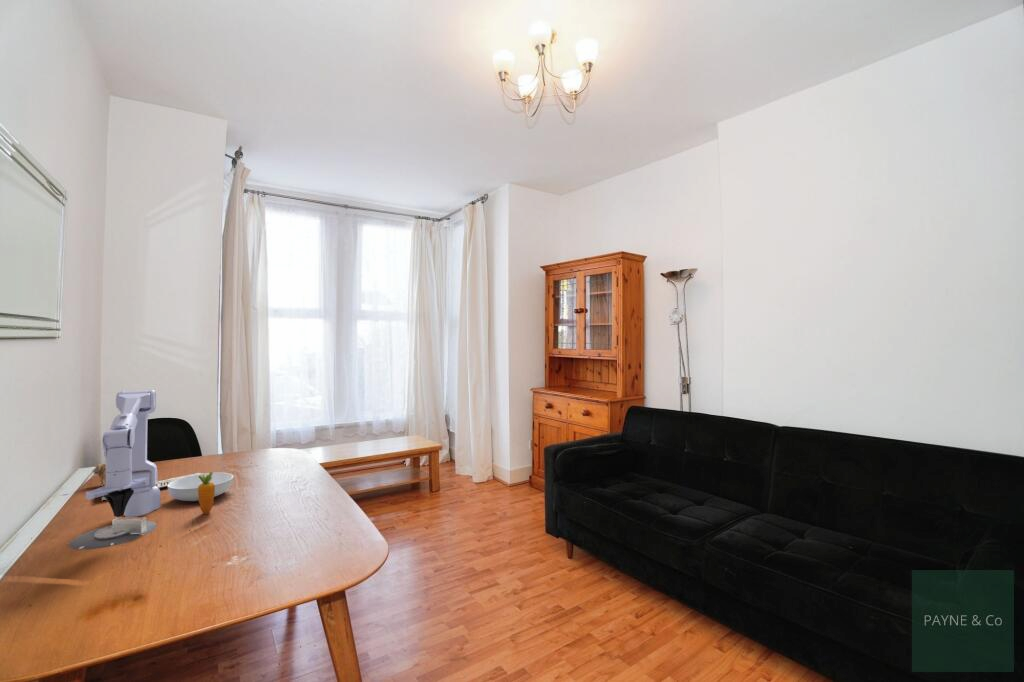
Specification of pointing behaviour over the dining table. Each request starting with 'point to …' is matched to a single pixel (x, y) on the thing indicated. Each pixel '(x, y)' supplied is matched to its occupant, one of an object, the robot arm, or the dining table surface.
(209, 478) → the carrot
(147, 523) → the dial plate
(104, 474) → the lion figurine
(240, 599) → the dining table surface
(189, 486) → the serving bowl
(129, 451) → the robot arm
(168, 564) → the dining table surface
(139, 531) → the grey bar on dome
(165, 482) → the piano keyboard
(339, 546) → the dining table surface
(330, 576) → the dining table surface
